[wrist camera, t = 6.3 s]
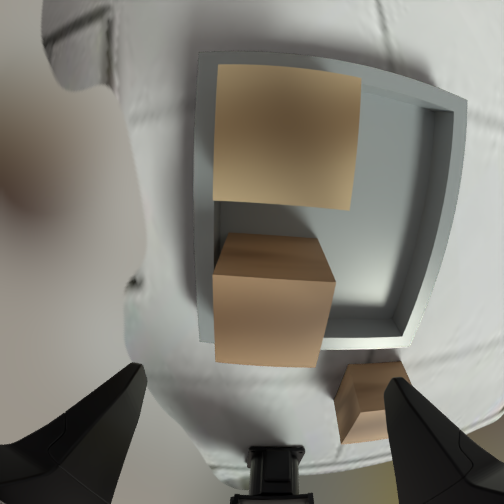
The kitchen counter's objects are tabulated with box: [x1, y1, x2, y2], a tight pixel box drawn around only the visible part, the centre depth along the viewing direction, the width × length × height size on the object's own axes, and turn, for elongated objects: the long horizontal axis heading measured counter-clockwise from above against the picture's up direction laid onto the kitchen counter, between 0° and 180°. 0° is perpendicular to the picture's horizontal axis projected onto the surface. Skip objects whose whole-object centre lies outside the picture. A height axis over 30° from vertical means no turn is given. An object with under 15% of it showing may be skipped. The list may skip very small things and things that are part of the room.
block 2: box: [213, 232, 336, 368], centre depth 14 cm, size 5×5×5 cm
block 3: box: [334, 361, 412, 444], centre depth 19 cm, size 5×5×5 cm
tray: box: [193, 51, 467, 350], centre depth 14 cm, size 16×14×2 cm
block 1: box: [213, 64, 361, 211], centre depth 11 cm, size 5×5×5 cm
